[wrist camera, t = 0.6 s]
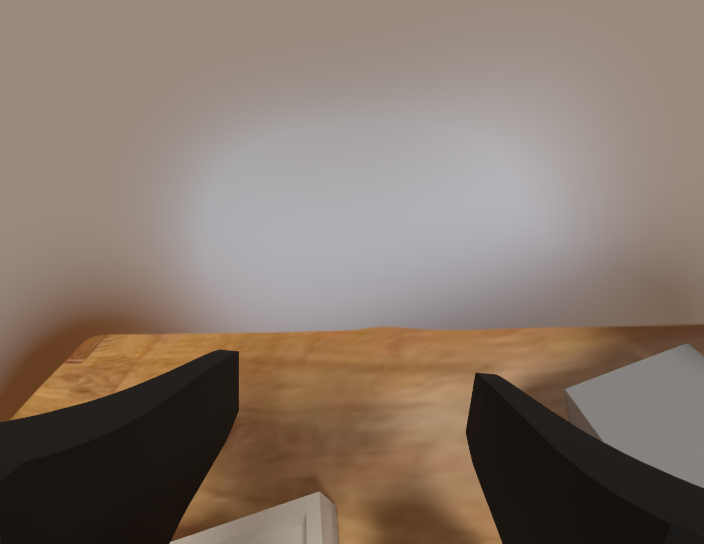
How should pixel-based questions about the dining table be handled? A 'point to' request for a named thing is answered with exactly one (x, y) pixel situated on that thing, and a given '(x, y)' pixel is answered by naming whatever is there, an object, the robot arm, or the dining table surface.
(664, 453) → the slate block
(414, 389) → the dining table surface
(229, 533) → the tray
